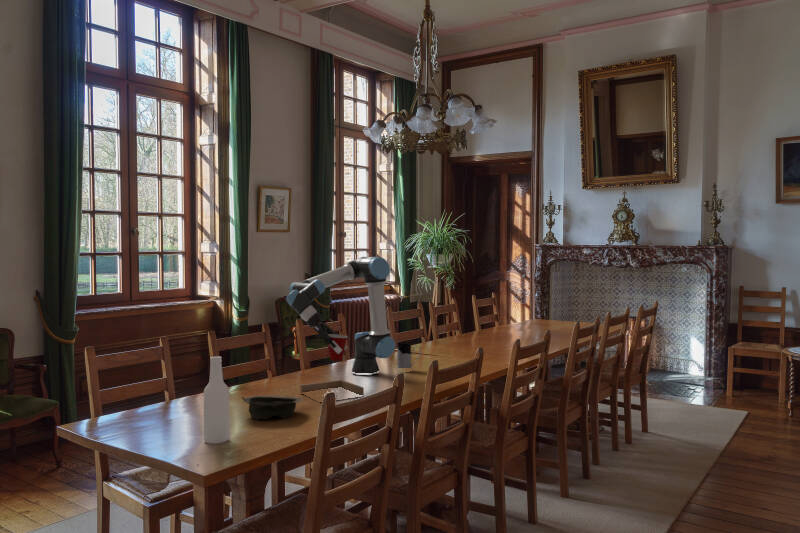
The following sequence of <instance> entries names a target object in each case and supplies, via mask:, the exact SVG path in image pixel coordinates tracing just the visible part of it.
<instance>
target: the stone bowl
mask: <svg viewBox="0 0 800 533" xmlns="http://www.w3.org/2000/svg"><path fill="white" fill-rule="evenodd" d="M242 400H243V402H245V403H246V404H248V412H249V414H250V418H251V419H252V418H253V420H256V419H258V420H257V421H260V420H268V419H271V418H272V417H276V416H278V418H280V417H281V418H280V419H286V418H285V417H288V418H290V417H291V415H293V414H294V412H295V410H296V406H297V404H298V403H301V402H302V401H304V398H301V397H297V396H289V395H288V396H286V395H281V396H280V395H253V396H249V397H246V398H244V396H242ZM289 416H290V417H289Z"/></svg>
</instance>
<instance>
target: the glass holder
mask: <svg viewBox="0 0 800 533" xmlns="http://www.w3.org/2000/svg"><path fill="white" fill-rule="evenodd" d="M415 348H419V355H418V357H417V358H416V360H415V361H413V363H412V355H413V354H414V353H415ZM421 349H422V348H421V347H420V346H418V345H415V346H414V347H413V349H412V344H410V343H398V344H397V351H396V353H397V354H396V356H397V357H396V358H397V360H396V361H397V366H396V367H398V368H411V367H412V368H413V366H414V364H416V362H418V360H419V359H420V358H421V355H422V354H421V353H422V350H421ZM412 350H413V351H412ZM412 368H411V369H412Z"/></svg>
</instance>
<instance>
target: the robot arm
mask: <svg viewBox="0 0 800 533" xmlns="http://www.w3.org/2000/svg"><path fill="white" fill-rule="evenodd" d="M390 270H391V267H390V264H389V262H388V261H387V260H386V259H385V258H383V257H380V256H361V257H358V258H356V259H355V258H354V259H353V260H351V261H348V262H345V263H344V264H343V266H340V267H338V268H334V269H332V270H329V271H326V272H323V273H321V274H317V275H316V276H313V277H310V278H308V279H307V278H306V279H304V280H300V281H295V282H292V283H291V284H290V286H289V288H288V291H289V293H288V295H287V296H286V298H285V301H286V302H287V303H288V305H289V306H290V307H291V308H292V309H293V310H294V311H295V312H296V313H297V314H298V315H299V316H300V318H301V320H303V321H305V322H306V324H307V325H308V326H309V328H312V329H313V330H315V331H316V332H317V334H318V335H319V336H320V338H321V339H322V340H323V341H324V343H325V344H326V346H328V344H329V345H330V346H331V347H332V348H333V349H334V350H335V351H336V352H337V353H338V354H339V353H340V352H341V351H342V349H341V348H340V347H339V346H338V345H337V344H336V343H335V341H334V340H333V341H332V339H331V338H330V336H329V335H328V334H337V333H336V331H334V330H333V329H332V328H331V327H330V325H328V324H327V323H326V322H325V321H324V322H323V321H321V320H323V316H322V315H321V314H320V313H319V312H317V309H315V307H314V306H313V305H312V304H311V303H312V302H313V301H315V299H317V298H318V297H319V296H321V295H322V294H323V293H324V292H325V291H326V288H329V287H332V286H334V285H337V284H339V283H342V282H344V281H347V280H349V281H353V280H356V279H364V284H365V285H367V292H368V293H367V294H368V304H369V318H370V331H361V332H356V333H355V334H354V361H353V366H352V367H351V368H352V369H351V373H352V372H355V373H374V372H377V371H379V372H380V367H379V364H378V361H377V358H379V359H388V358H390V357H391V356H392V355H393V353H394V352H395V350H396V346H397V345H396V341H395V339H394V338H393V337H391V336H392V335H391V330H389V329H388V323H387V322H388V321H387V310H386V309H387V308H386V298H385V297H386V296H385V284H386V283H387V278H388V277H389V275H390ZM347 349H348V346H347V345H346V344H345V348H344V351H346V350H347Z"/></svg>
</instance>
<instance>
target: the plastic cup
mask: <svg viewBox="0 0 800 533" xmlns="http://www.w3.org/2000/svg"><path fill="white" fill-rule="evenodd" d="M328 335H329V336H330V338H331V339H332V341H333V340H334V341H335V343H336V344H337V345H338V346H339V347H340V348H341V349H342V351H341V352H340V353H339V354H338V353H337V352H336V351H335V350H334V349H333V348H332V347H331V346H330V345H329V344H328V345H327V348H328V354H329V360H330V361H342V360H343V357H344V352H345V350H344V348H345V345H346V342H347V339H348V337H349V336H348V335H343V334H338V333H336V334H328Z"/></svg>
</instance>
